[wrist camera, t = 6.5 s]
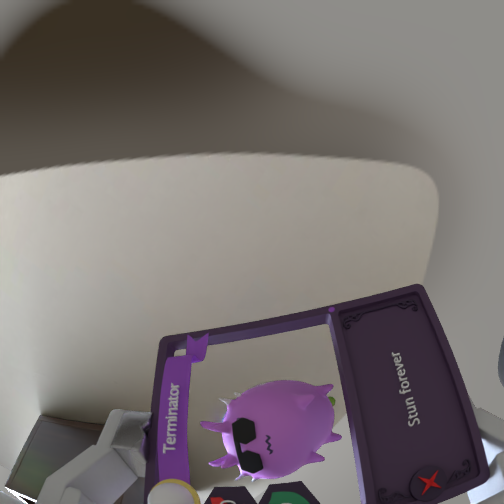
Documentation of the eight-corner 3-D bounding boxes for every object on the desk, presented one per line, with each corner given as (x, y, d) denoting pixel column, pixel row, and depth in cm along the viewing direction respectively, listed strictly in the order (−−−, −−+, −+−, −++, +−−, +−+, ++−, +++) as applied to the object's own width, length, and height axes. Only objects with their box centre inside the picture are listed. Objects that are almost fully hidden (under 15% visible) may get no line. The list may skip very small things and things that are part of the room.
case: (39, 414, 27) (4, 486, 17) (142, 427, 26) (115, 525, 16) (100, 481, 33) (82, 540, 23) (189, 492, 32) (180, 562, 22)
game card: (503, 475, 4) (127, 528, 5) (444, 493, 7) (205, 530, 9) (424, 266, 9) (150, 324, 10) (406, 348, 12) (206, 388, 14)
